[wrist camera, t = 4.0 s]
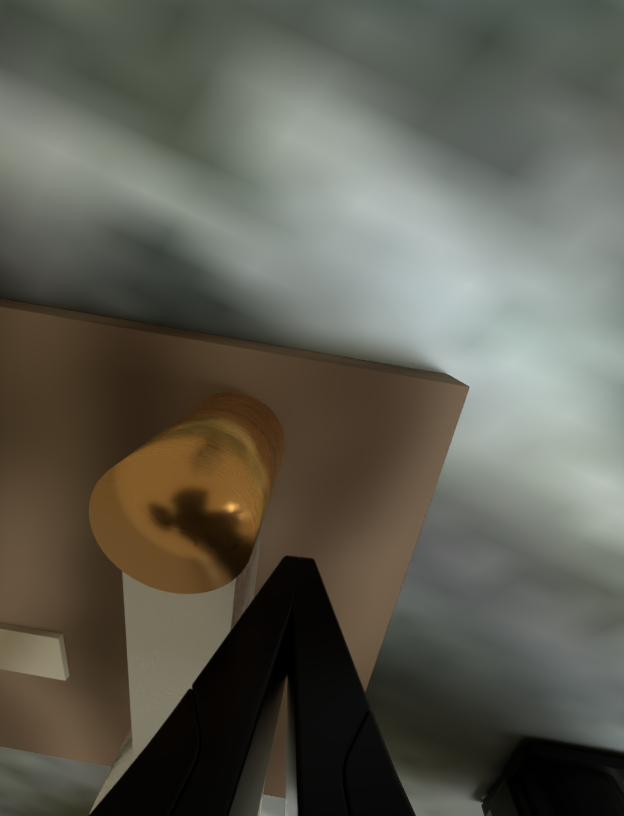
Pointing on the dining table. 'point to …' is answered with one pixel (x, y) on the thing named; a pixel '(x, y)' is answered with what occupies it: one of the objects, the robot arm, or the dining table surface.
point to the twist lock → (185, 548)
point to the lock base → (134, 426)
